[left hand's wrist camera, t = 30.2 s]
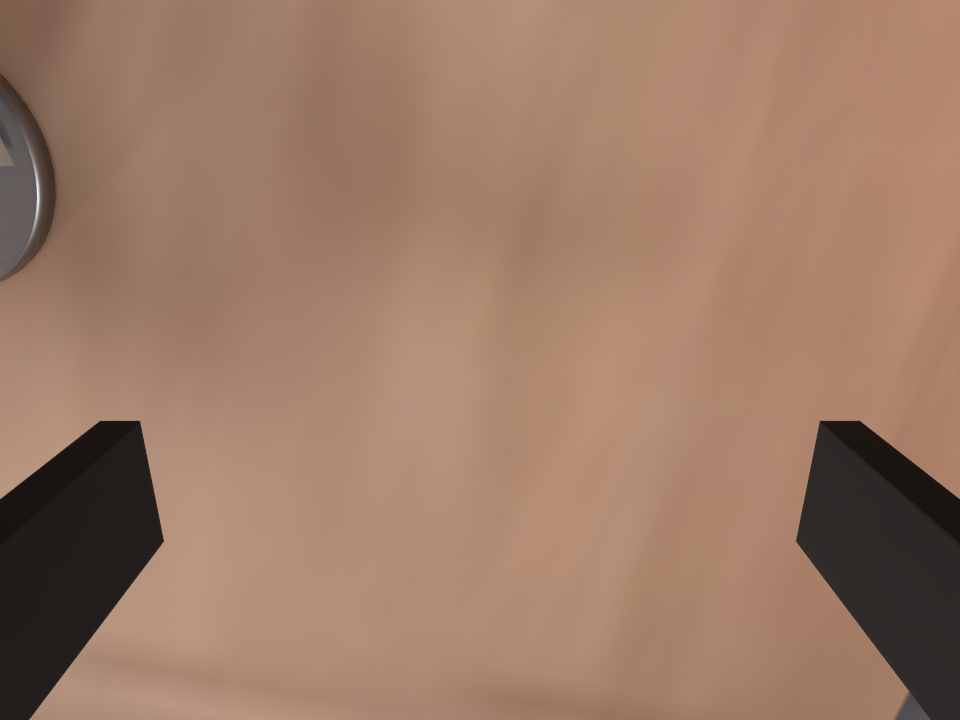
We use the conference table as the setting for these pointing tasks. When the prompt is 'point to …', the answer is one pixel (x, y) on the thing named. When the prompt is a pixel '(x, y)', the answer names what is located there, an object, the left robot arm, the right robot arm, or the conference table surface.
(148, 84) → the conference table surface
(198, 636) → the conference table surface
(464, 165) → the conference table surface
